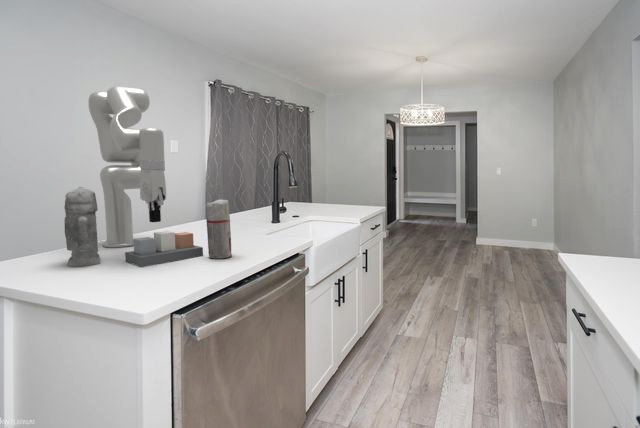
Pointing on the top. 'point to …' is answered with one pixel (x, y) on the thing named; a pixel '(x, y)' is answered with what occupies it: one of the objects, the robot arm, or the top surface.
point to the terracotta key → (184, 240)
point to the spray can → (218, 229)
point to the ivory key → (164, 241)
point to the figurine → (81, 227)
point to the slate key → (144, 246)
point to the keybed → (163, 256)
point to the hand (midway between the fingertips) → (155, 221)
